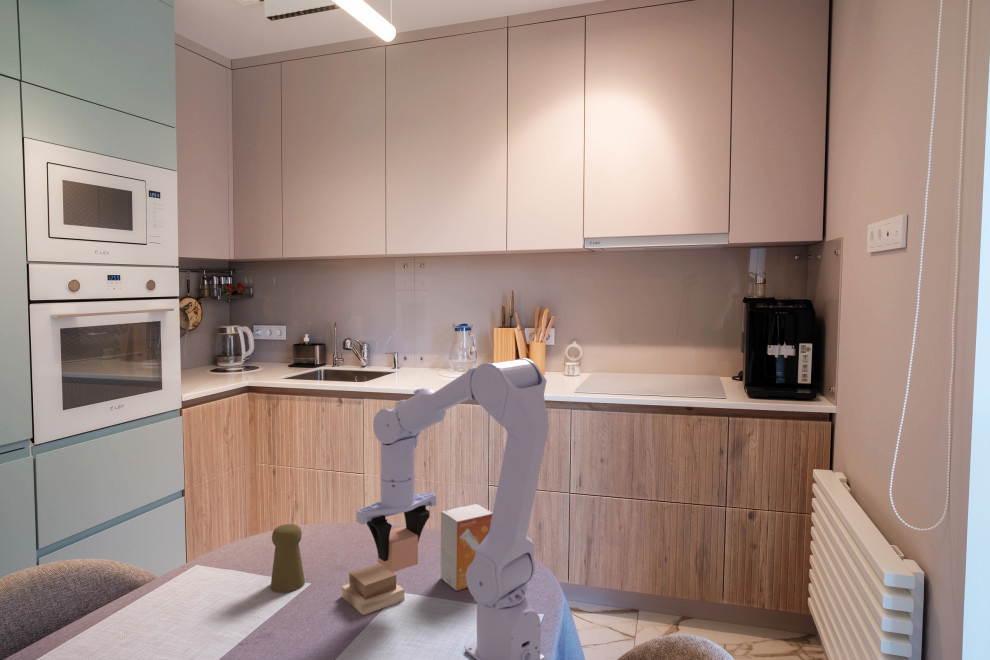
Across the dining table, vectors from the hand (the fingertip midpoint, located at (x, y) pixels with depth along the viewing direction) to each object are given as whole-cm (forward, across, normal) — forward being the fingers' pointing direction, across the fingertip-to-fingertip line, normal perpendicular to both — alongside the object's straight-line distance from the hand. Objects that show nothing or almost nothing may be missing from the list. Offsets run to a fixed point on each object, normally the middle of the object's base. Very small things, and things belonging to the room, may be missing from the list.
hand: (397, 554), depth 103 cm
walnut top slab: (+7, +2, -5) cm, 9 cm away
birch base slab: (+10, +2, -5) cm, 11 cm away
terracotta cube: (+2, 0, 0) cm, 2 cm away
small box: (+9, -15, 0) cm, 17 cm away
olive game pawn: (+9, +12, -19) cm, 24 cm away
